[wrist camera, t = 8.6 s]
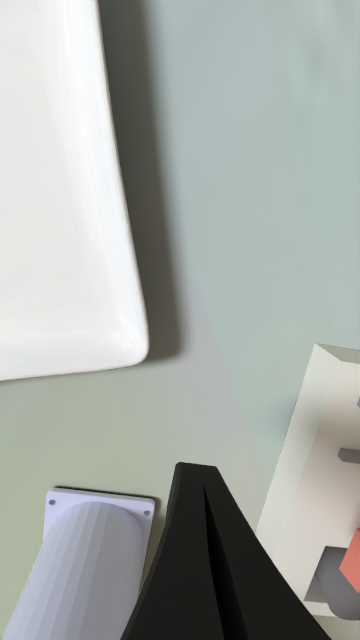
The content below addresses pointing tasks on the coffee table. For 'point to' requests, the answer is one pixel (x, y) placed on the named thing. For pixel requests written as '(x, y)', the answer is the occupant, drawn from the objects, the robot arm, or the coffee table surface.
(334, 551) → the button
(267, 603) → the robot arm
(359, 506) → the panel
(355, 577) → the plate
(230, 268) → the coffee table surface
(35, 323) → the salad plate
